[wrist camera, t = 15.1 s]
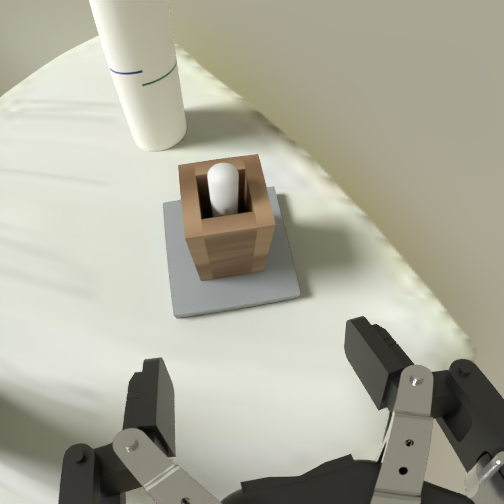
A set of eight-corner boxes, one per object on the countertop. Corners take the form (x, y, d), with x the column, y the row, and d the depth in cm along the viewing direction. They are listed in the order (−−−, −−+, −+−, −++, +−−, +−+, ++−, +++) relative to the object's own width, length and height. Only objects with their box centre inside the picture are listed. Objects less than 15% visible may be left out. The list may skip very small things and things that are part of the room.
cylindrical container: (139, 114, 39) (97, -47, 16) (189, 110, 40) (169, -62, 16) (129, 153, 37) (67, -25, 13) (184, 149, 37) (153, -47, 14)
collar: (263, 271, 30) (275, 224, 21) (200, 281, 30) (185, 238, 20) (251, 215, 32) (258, 154, 23) (193, 224, 32) (178, 165, 22)
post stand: (297, 297, 31) (338, 246, 18) (176, 318, 30) (134, 279, 17) (272, 193, 35) (289, 105, 23) (165, 209, 34) (134, 125, 21)
